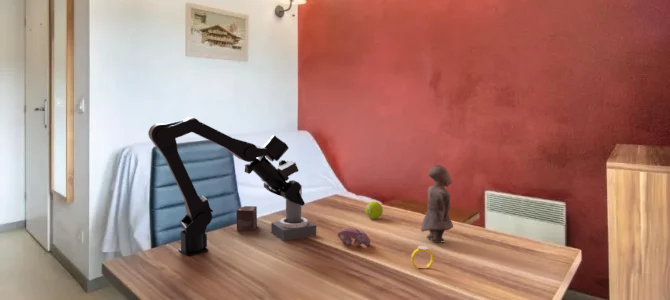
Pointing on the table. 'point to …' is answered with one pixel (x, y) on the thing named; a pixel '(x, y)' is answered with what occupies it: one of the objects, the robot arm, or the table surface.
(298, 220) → the grey travel tumbler
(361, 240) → the video game controller
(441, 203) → the clay figurine
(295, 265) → the table surface
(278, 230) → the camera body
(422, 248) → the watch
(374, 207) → the tennis ball
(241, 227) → the box
